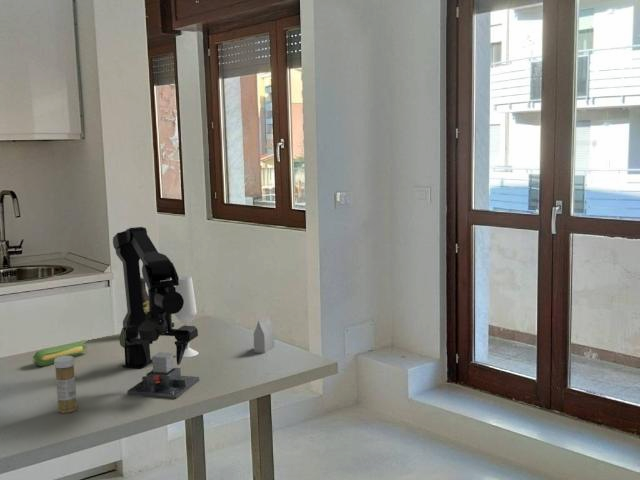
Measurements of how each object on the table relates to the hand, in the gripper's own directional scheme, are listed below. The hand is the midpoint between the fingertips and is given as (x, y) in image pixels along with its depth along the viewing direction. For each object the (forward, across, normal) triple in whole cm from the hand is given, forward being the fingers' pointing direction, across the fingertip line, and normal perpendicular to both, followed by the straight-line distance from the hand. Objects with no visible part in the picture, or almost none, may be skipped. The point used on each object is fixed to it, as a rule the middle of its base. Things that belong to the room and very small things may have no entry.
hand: (162, 363), depth 190 cm
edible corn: (+7, -42, +16) cm, 46 cm away
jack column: (+5, 0, 0) cm, 5 cm away
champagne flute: (+7, -7, +29) cm, 31 cm away
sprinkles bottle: (+7, -16, -20) cm, 27 cm away
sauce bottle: (+7, -32, +46) cm, 56 cm away
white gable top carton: (+7, +15, +38) cm, 41 cm away
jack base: (+7, 0, 0) cm, 7 cm away
